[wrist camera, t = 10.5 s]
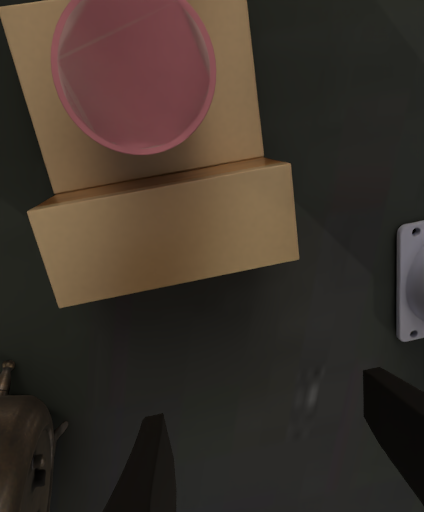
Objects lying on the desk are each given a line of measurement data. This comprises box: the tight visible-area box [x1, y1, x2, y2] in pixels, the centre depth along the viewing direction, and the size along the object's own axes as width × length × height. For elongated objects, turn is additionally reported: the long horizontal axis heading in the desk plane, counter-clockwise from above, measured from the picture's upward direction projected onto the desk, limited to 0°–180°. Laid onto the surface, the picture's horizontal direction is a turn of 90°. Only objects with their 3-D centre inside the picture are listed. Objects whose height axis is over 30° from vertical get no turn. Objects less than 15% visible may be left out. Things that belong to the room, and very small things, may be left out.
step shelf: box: [0, 0, 299, 308], centre depth 16 cm, size 10×12×6 cm
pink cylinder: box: [51, 0, 216, 155], centre depth 14 cm, size 5×5×5 cm
